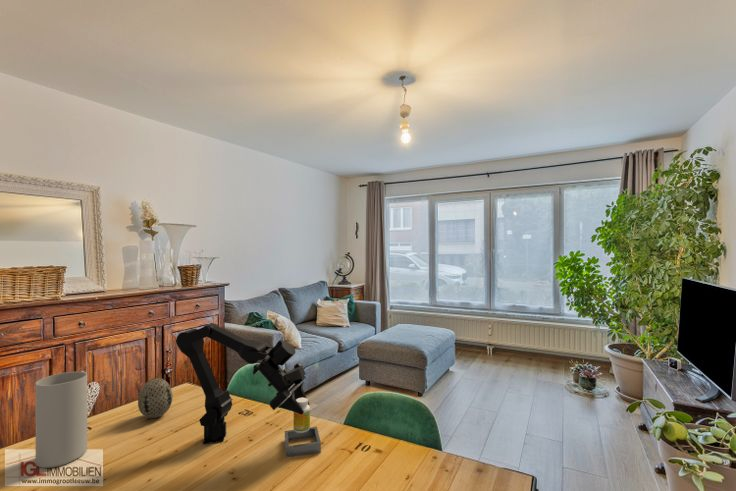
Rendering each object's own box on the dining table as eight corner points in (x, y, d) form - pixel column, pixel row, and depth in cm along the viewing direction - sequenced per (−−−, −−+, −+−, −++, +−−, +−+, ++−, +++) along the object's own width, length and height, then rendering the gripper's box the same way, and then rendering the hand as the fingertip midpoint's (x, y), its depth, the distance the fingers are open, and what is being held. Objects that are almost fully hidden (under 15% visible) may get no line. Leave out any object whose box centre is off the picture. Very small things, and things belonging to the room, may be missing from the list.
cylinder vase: (96, 450, 118) (96, 373, 118) (52, 472, 106) (52, 387, 106) (70, 443, 122) (70, 369, 122) (25, 464, 110) (25, 382, 110)
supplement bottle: (306, 434, 116) (306, 404, 116) (290, 432, 117) (290, 402, 118) (312, 426, 122) (312, 397, 122) (297, 424, 123) (297, 396, 123)
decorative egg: (161, 423, 135) (161, 384, 136) (130, 424, 136) (130, 384, 136) (178, 410, 147) (178, 373, 147) (150, 410, 147) (150, 373, 148)
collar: (285, 457, 113) (285, 448, 113) (284, 439, 123) (284, 431, 123) (320, 452, 116) (320, 442, 116) (316, 435, 126) (316, 426, 126)
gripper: (279, 367, 111) (313, 405, 109) (300, 350, 130) (329, 383, 128) (255, 391, 112) (288, 429, 110) (279, 371, 131) (308, 403, 129)
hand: (305, 409), depth 119 cm, fingers closed on supplement bottle, 5 cm apart
